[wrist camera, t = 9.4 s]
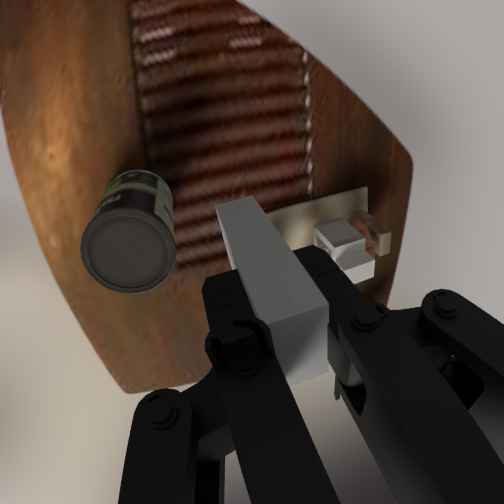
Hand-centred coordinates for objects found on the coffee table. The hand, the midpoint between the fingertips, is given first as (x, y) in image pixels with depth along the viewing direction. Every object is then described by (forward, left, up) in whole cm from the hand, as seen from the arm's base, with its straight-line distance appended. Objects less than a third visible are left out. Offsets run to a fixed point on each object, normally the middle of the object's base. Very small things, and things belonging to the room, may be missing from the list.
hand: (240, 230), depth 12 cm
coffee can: (+8, -10, -31) cm, 33 cm away
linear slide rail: (+21, +15, -30) cm, 40 cm away
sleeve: (+21, +17, -27) cm, 38 cm away
